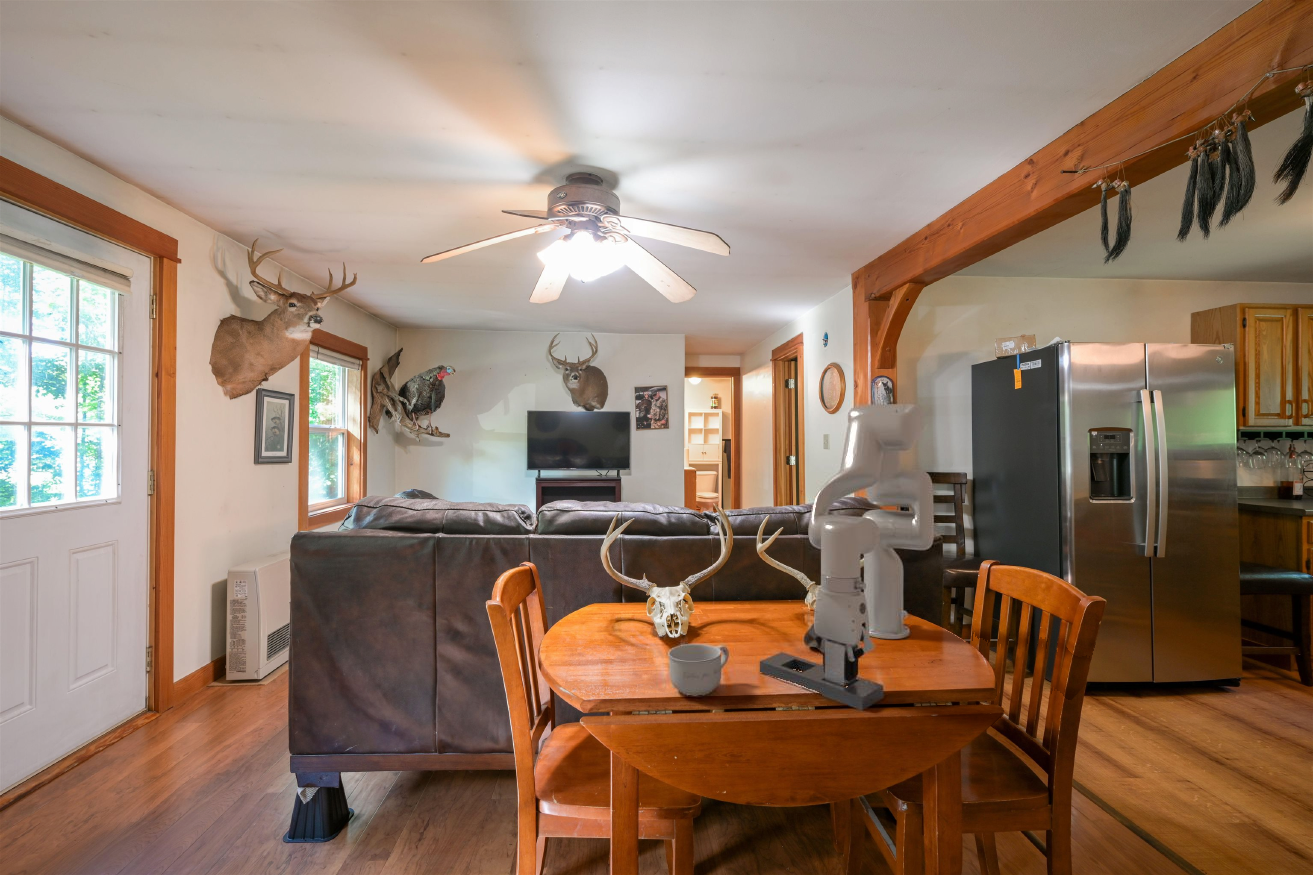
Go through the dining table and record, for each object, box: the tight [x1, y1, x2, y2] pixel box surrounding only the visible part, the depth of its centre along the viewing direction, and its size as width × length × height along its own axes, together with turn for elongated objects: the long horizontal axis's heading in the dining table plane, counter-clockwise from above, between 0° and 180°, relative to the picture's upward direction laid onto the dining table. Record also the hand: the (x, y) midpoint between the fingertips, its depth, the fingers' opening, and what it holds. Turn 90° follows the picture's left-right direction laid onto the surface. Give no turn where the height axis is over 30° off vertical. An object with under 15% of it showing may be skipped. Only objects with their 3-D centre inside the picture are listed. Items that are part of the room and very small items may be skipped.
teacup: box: [667, 643, 730, 696], centre depth 123 cm, size 14×11×8 cm
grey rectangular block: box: [825, 640, 855, 687], centre depth 121 cm, size 4×4×9 cm
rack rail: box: [759, 651, 884, 711], centre depth 125 cm, size 24×8×2 cm, turn 42°
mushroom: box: [803, 629, 820, 651], centre depth 145 cm, size 8×8×6 cm
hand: (840, 674), depth 121 cm, fingers closed on grey rectangular block, 4 cm apart
